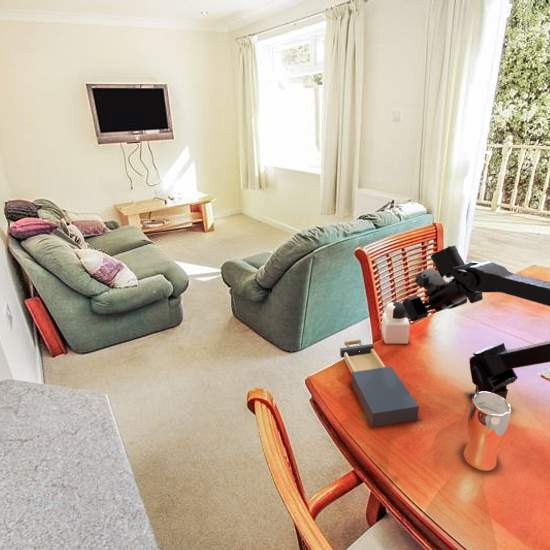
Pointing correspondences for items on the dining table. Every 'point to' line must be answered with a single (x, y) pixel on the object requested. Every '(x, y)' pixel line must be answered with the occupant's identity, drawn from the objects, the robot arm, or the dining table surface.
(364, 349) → the drawer
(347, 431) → the dining table surface
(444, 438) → the dining table surface
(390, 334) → the medicine bottle
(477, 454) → the beer glass
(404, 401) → the cabinet
